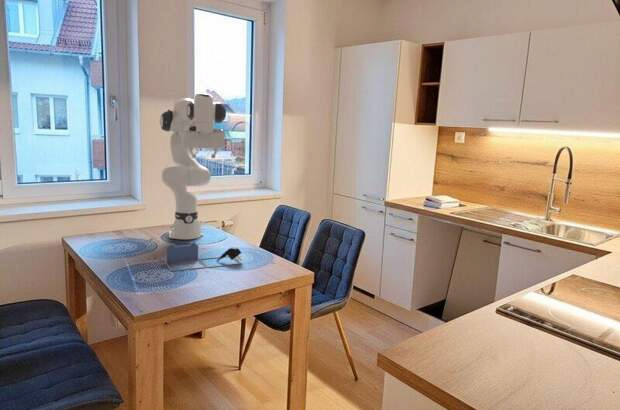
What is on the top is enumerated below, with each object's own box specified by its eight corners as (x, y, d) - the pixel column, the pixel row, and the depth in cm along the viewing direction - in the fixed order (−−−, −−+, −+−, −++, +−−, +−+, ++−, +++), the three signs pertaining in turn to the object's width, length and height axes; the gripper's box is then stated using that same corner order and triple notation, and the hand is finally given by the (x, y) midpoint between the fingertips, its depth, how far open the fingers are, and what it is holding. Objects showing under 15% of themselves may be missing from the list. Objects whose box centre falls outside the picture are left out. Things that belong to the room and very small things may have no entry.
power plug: (218, 258, 208) (236, 243, 206) (228, 270, 208) (246, 256, 205) (213, 261, 203) (232, 246, 200) (223, 274, 203) (242, 259, 200)
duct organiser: (163, 261, 201) (163, 244, 200) (231, 255, 217) (231, 239, 215) (170, 271, 188) (170, 252, 187) (242, 264, 203) (242, 246, 202)
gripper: (223, 129, 216) (222, 158, 218) (180, 127, 206) (180, 157, 208) (227, 129, 210) (226, 158, 212) (183, 127, 201) (183, 158, 203)
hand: (203, 158), depth 210 cm, fingers open, 8 cm apart
